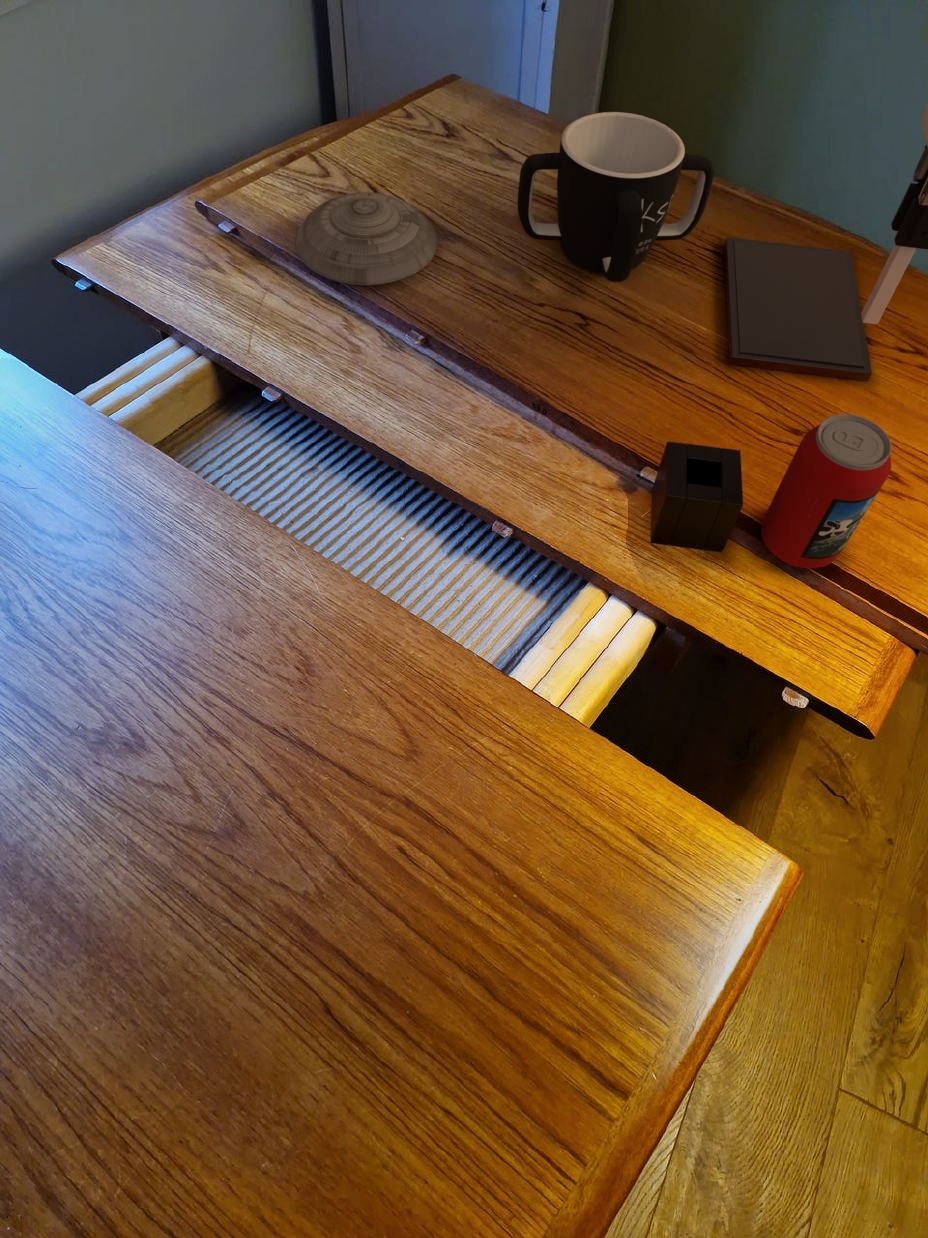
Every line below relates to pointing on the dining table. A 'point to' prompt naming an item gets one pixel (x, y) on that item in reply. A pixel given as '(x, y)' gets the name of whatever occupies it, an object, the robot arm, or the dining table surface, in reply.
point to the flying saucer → (366, 239)
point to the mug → (614, 191)
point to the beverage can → (827, 490)
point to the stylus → (887, 282)
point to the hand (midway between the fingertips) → (911, 236)
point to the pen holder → (696, 496)
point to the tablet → (794, 309)
